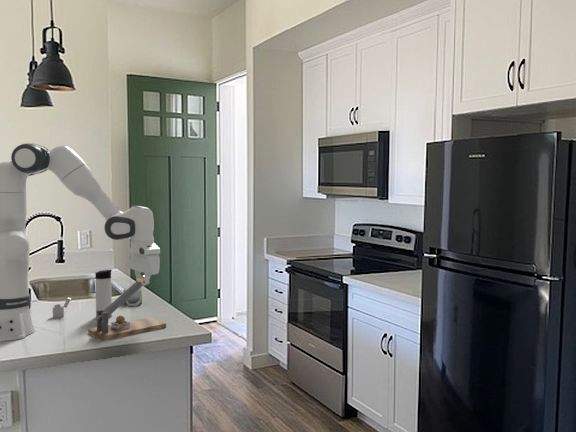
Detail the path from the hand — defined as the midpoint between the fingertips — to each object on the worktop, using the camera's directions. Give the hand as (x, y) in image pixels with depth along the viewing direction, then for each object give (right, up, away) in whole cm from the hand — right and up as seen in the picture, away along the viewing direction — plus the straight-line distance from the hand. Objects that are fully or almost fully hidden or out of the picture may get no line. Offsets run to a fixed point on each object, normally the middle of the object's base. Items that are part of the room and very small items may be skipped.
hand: (142, 282), depth 204 cm
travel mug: (-20, -17, +15) cm, 30 cm away
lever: (-5, -7, -4) cm, 9 cm away
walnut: (-7, -13, -5) cm, 16 cm away
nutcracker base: (-5, -18, -3) cm, 19 cm away
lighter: (-38, -16, +15) cm, 44 cm away
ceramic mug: (-15, -15, +38) cm, 44 cm away
